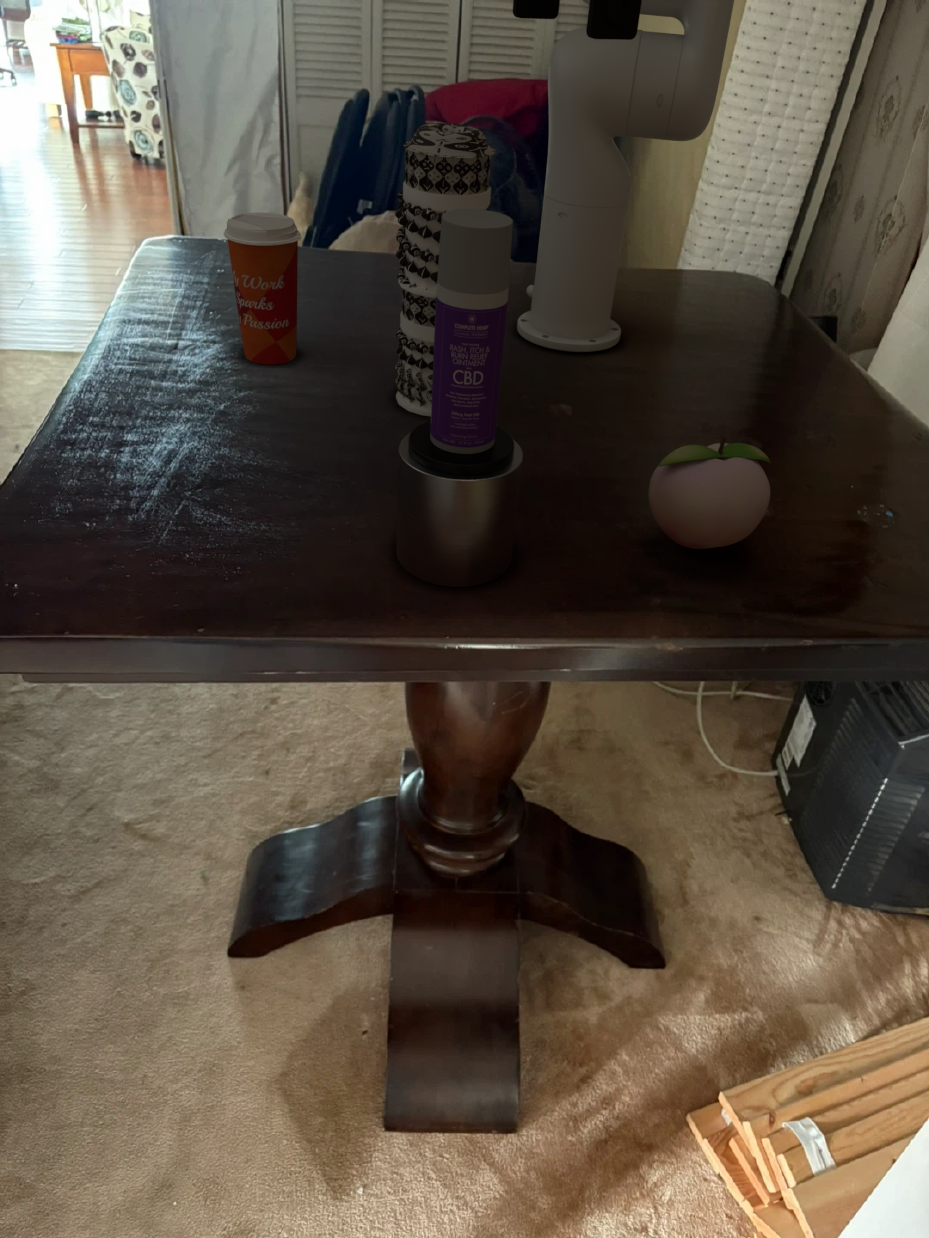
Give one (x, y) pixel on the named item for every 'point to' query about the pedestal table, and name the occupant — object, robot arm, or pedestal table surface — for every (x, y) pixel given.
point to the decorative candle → (431, 240)
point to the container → (469, 328)
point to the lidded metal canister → (456, 509)
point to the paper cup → (265, 284)
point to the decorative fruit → (710, 494)
